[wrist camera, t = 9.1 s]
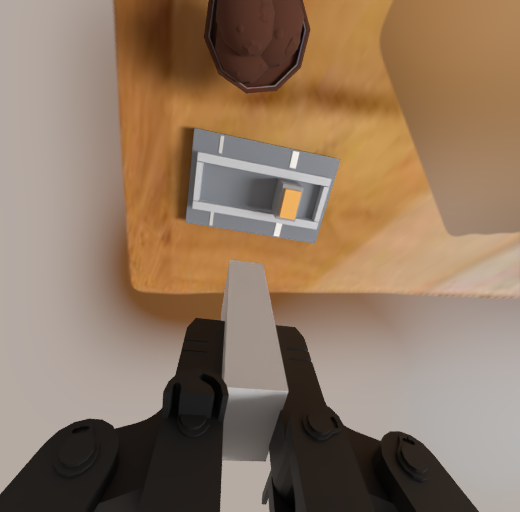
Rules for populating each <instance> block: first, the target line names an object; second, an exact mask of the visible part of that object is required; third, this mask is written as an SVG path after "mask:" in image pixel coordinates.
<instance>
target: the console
mask: <svg viewBox="0 0 520 512" xmlns="http://www.w3.org/2000/svg"><path fill="white" fill-rule="evenodd" d="M339 162H340V159H336V158H332V157H327V156H323V155H318V154H313V153H309V152H304V151H299V150H295V149H290V148H286V147H281V146H276V145H272V144H267V143H262V142H258V141H253V140H248V139H244V138H239V137H235V136H230V135H225V134H221V133H216V132H211V131H207V130H202V129H197V128H194V138H193V148H192V159H191V170H190V180H189V191H188V202H187V212H186V223H192V224H198V225H204V226H210V227H217V228H223V229H229V230H235V231H241V232H247V233H254V234H260V235H266V236H272V237H278V238H284V239H291V240H297V241H303V242H309V243H315V242H316V239H317V235H318V232H319V229H320V226H321V222H322V219H323V216H324V212H325V209H326V206H327V202H328V199H329V196H330V192H331V189H332V186H333V182H334V179H335V176H336V172H337V169H338V166H339ZM278 178H279V179H284V180H289V181H294V182H297V183H298V184H300V185H301V186H302V187H303V188H304V190H303V193H302V197H301V201H300V205H299V209H298V213H297V216H296V220H295V222H292V221H287V220H281V219H275V217H274V215H273V213H272V210H271V208H272V203H273V199H274V194H275V190H276V185H277V181H278Z"/></svg>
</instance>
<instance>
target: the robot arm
mask: <svg viewBox="0 0 520 512" xmlns="http://www.w3.org/2000/svg"><path fill="white" fill-rule="evenodd" d="M268 452H270V462H271V471H270V474H269V477H268V480H267V483H266V486H265V488H264V491H263V496H262V504H266V503H267V500H268V498H269V510H270V512H479V511H478V510H477V509H476V507H475V506H474V505H473V504H472V502H471V501H470V500H469V499H468V498H467V496H466V495H465V494H464V493H463V491H462V490H461V489H460V488H459V486H458V485H457V484H456V482H455V481H454V480H453V479H452V477H451V476H450V475H449V474H448V473H447V471H446V470H445V469H444V467H443V466H442V465H441V464H440V462H439V461H438V460H437V459H436V457H435V456H434V455H433V454H432V453H431V452H430V451H429V450H428V449H427V448H426V447H425V446H424V444H423V443H421V442H420V441H418V440H416V439H415V438H414V437H412V436H411V435H408V434H405V433H402V432H389V433H387V434H386V435H384V436H383V438H382V440H381V441H379V440H376V439H374V438H371V437H368V436H366V435H363V434H360V433H358V432H355V431H353V430H351V429H349V428H347V427H346V426H344V425H343V423H342V422H341V420H340V418H339V416H338V415H337V414H335V412H334V411H333V410H332V409H331V408H330V407H327V405H326V403H325V401H324V398H323V395H322V392H321V389H320V385H319V382H318V380H317V376H316V373H315V370H314V367H313V364H312V362H311V359H310V355H309V352H308V349H307V345H306V342H305V339H304V337H303V336H302V335H301V334H300V332H299V331H298V330H297V329H296V328H295V327H288V326H277V325H275V322H274V316H273V311H272V307H271V301H270V296H269V291H268V286H267V281H266V276H265V271H264V266H263V264H260V263H252V262H245V261H238V260H230V262H229V268H228V274H227V281H226V287H225V293H224V299H223V306H222V314H221V321H220V320H210V319H200V318H195V320H194V321H193V322H192V323H191V324H190V325H189V326H188V327H187V331H186V335H185V339H184V343H183V347H182V351H181V355H180V359H179V363H178V367H177V371H176V375H175V376H174V377H173V378H172V379H171V380H170V381H169V382H168V384H167V386H166V388H165V390H164V393H163V407H162V409H161V410H160V411H159V412H157V413H156V414H155V415H153V416H152V417H150V418H148V419H147V420H144V421H141V422H138V423H136V424H132V425H128V426H124V427H120V428H116V429H114V427H113V426H112V425H111V424H109V423H107V422H105V421H103V420H99V419H86V420H82V421H78V422H74V423H73V424H70V425H68V426H67V427H65V428H63V429H61V430H59V431H58V432H57V433H56V434H55V435H53V436H52V437H51V438H50V439H49V440H48V441H47V442H46V443H45V444H44V445H43V446H42V447H41V448H40V449H39V450H38V452H37V453H36V454H35V455H34V456H33V457H32V459H31V460H30V461H29V462H28V463H27V464H26V465H25V467H24V468H23V469H22V470H21V471H20V472H19V473H18V475H17V476H16V477H15V478H14V479H13V480H12V482H11V483H10V484H9V485H8V486H7V487H6V488H5V490H4V491H3V492H2V493H1V494H0V512H220V496H221V495H220V494H221V471H222V460H232V461H266V458H267V455H268Z"/></svg>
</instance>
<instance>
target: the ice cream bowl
mask: <svg viewBox="0 0 520 512" xmlns="http://www.w3.org/2000/svg"><path fill="white" fill-rule="evenodd" d="M309 33H310V26H309V23H308V19H307V15H306V11H305V7H304V4H303V0H209V2H208V10H207V18H206V26H205V34H204V38H205V41H206V43H207V46H208V48H209V51H210V53H211V56H212V58H213V61H214V63H215V66H216V68H217V71H218V73H219V74H220V75H221V76H223V77H224V78H225V79H227V80H228V81H230V82H231V83H232V84H234V85H235V86H237V87H238V88H239V89H241V90H242V91H244V92H245V93H256V92H268V91H277V90H278V89H279V88H280V87H281V86H282V85H283V84H284V83H285V82H286V81H287V80H288V79H289V78H290V77H291V76H292V75H293V74H295V73H296V72H297V71H298V70H299V69H300V68H301V65H302V61H303V57H304V53H305V49H306V45H307V41H308V37H309Z"/></svg>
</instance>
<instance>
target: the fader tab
mask: <svg viewBox="0 0 520 512" xmlns="http://www.w3.org/2000/svg"><path fill="white" fill-rule="evenodd" d="M303 190H304V188H303V187H302V186H301V185H300V184H298V183H297V182H294V181H289V180H284V179H279V178H278V181H277V185H276V190H275V194H274V199H273V203H272V208H271V210H272V213H273V215H274V217H275V219H281V220H287V221H292V222H295V220H296V216H297V213H298V209H299V205H300V201H301V197H302V193H303Z"/></svg>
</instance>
